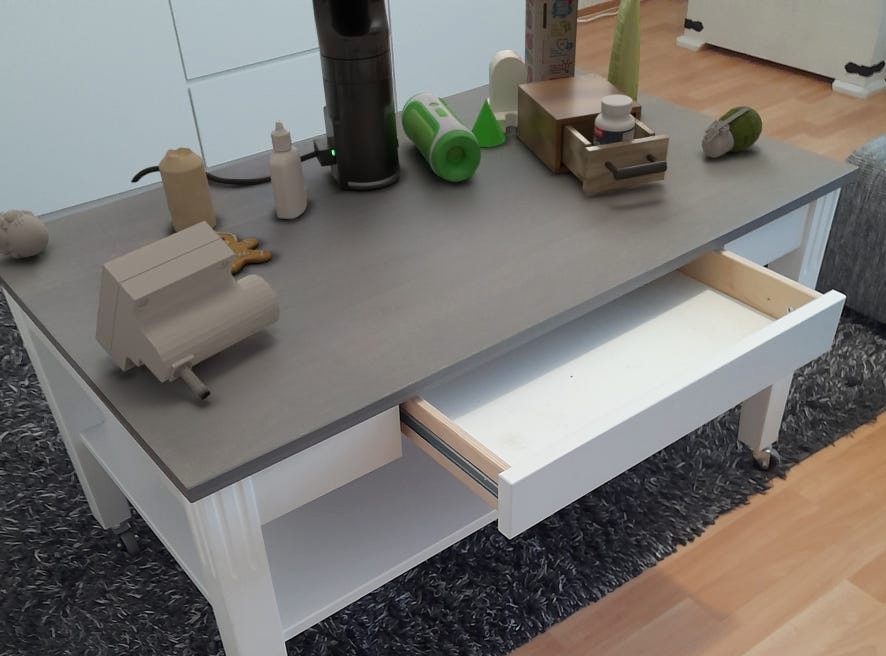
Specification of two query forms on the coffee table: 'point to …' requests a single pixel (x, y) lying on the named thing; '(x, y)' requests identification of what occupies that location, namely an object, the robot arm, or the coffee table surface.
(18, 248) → the beige rounded lump
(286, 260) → the coffee table surface
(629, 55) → the tube
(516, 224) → the coffee table surface
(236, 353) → the coffee table surface
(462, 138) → the speaker
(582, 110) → the wooden mini dresser
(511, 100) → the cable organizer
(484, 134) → the gemstone
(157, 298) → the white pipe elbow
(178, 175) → the candle
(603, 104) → the pill bottle
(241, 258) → the cookie
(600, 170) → the dresser drawer
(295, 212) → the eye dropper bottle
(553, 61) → the juice carton
